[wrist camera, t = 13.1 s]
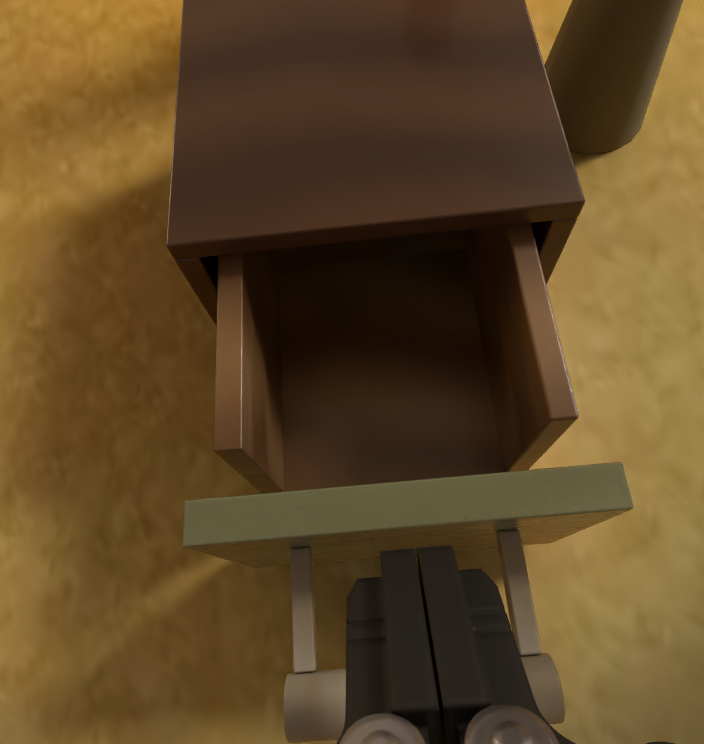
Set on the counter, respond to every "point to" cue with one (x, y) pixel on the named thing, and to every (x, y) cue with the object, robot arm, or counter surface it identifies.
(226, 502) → the drawer
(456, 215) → the cabinet
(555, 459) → the counter surface
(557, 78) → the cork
